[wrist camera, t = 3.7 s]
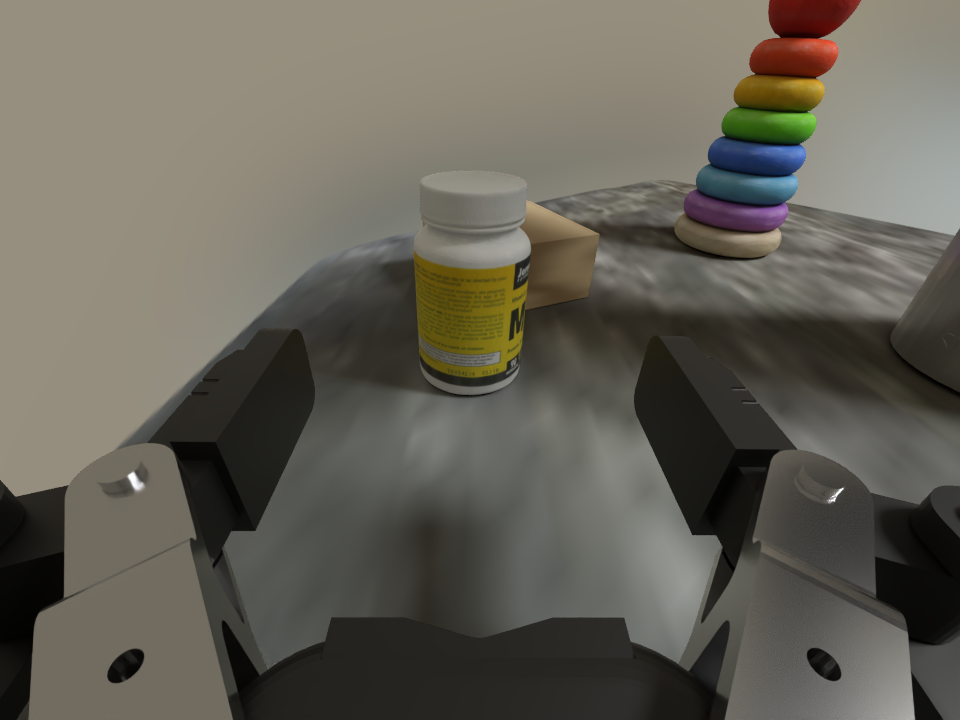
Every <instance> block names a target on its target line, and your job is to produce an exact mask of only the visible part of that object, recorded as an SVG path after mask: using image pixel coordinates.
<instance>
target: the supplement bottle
mask: <svg viewBox="0 0 960 720" xmlns="http://www.w3.org/2000/svg"><path fill="white" fill-rule="evenodd" d="M526 199H527V183H526V181H525V180H524V179H522V178H519V177H517V176H514V175H509V174H505V173H498V172H490V171H489V172H488V171H449V172H440V173H434V174H431V175H428V176H425V177H423V178H422V179H421V181H420V212H421V219H422V221H423V222H424V223H426V225H425V226H424V227H422V228H421V229H420V230H419V231H418V233H417V234H416V236H415V239H414V244H413V246H414V265H415V281H416V300H417V318H418V337H419V357H420V367H421V371H422V373H423V375H424V376H425V378H426V379H427V380H428V381H429V382H430V383H431V384H432V385H434V386H436V387H437V388H439V389H441V390H444V391H447V392H450V393H454V394H461V395H478V394H485V393H490V392H494V391H497V390H499V389H501V388H503V387H505V386H507V385H508V384H509V383H511V382H512V381H513V379H514V378H515V377H516V375H517V373H518V371H519V367H520V360H521V349H522V338H523V327H524V317H525V307H526V295H527V286H528V275H529V265H530V257H531V244H530V241H529V238H528V236H527V235H526V233H525V232H524V231H523V230H522V229H521V228H519V226H521V225H522V224H523V223H524V221H525V215H526V212H527V210H526Z"/></svg>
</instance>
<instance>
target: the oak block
mask: <svg viewBox="0 0 960 720" xmlns="http://www.w3.org/2000/svg"><path fill="white" fill-rule="evenodd" d="M526 210H527V212H526V215H525V221H524V223H523V224H522V225H521V226H519V228H521V229H522V230H523V231H524V232H525V233H526V235H527V236H528V238H529V241H530V244H531V257H530V265H529V275H528V286H527V295H526V307H525V310H528V309H533V308H537V307H542V306H547V305H552V304H557V303H562V302H566V301H571V300H576V299H581V298H586V297H588V295H589V289H590V284H591V279H592V273H593V268H594V262H595V257H596V251H597V246H598V241H599V235H600V234H598V233H596V232H594V231H592V230H590V229H588V228H586V227H583V226H581V225H579V224H577V223H575V222H573V221H571V220H569V219H567V218H564V217H562V216H560V215H558V214H556V213H554V212H552V211H550V210H547V209H545V208H543V207H541V206H539V205H537V204H535V203H532V202H530V201H526ZM425 225H426V223H424V222H423V227H424V226H425Z"/></svg>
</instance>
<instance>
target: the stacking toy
mask: <svg viewBox="0 0 960 720" xmlns="http://www.w3.org/2000/svg"><path fill="white" fill-rule="evenodd" d="M860 1H861V0H770V1H769V11H768V14H769V22H770V25H771V27H772V29H773V31H774V32H775V33H776V34H777V35H779V36H780V37H781V38H773V39H768V40H764V41H763V42H761V43H760V44H758V45H757V46H756V47H755V49H754V50H753V52H752V54H751V57H750V63H749V65H750V68H751V70H752V72H754V73H755V75H751V76H748V77H746V78H744V79H743V80H742V81H741V82H740V83H739V84H738V85H737V87H736V88H735V91H734V101H735V102H736V104H737V105H738V106H739V107H737V108H733V109H731V110H730V111H729V112H728V113H727V114H726V115H725V117H724V118H723V122H722V132H723V133H724V135H725V136H723V137H720V138H718V139H716V140H715V141H714V142H713V143H712V145H711V146H710V148H709V151H708V160H709V162H710V163H711V164H709V165H707V166H705V167H703V168H702V169H701V170H700V171H699V173H698V175H697V178H696V186H697V188H698V189H696V190H693V191H692V192H690V193H689V194H688V195H687V197H686V198H685V201H684V211H685V214H683V215H682V216H680V217H679V218H678V220H677V221H676V224H675V234H676V236H677V237H678V238H679V239H680V240H681V241H682V242H684V243H685V244H687V245H689V246H691V247H693V248H696V249H698V250H701V251H705V252H708V253H712V254H716V255H722V256H728V257H739V258H753V257H761V256H765V255H768V254H770V253H772V252H773V251H774V250H776V249H777V247H778V246H779V244H780V242H781V233H780V231H779V229H778V227H779V226H780V225H782V224H783V222H784V221H785V219H786V217H787V215H788V207H787V205H786V204H785V203H784V202H786V201H787V200H789V199H790V198H791V197H792V196H793V195H794V194H795V192H796V190H797V188H798V180H797V178H796V176H794V175H793V174H792V173H794V172H796V171H797V170H798V169H799V168H800V167H801V166H802V165H803V163H804V161H805V158H806V151H805V149H804V148H803V146H801V145H800V143H802V142H804V141H806V140H807V139H808V138H809V137H810V136H811V135H812V134H813V132H814V130H815V127H816V123H817V122H816V118H815V116H814V115H813V114H811V113H808V112H807V111H810V110H812V109H813V108H815V107H816V106H817V105H818V104H819V103H820V102H821V100H822V98H823V96H824V91H825V89H824V85H823V84H822V83H821V81H819V80H818V79H816V77H818V76H821V75H823V74H824V73H826V72H827V71H828V70H830V69H831V67H832V66H833V65H834V63H835V61H836V59H837V56H838V47H837V45H836V44H835V43H834V42H832V41H829V40H822V39H818V38H821V37H824V36H826V35H828V34H830V33H831V32H833V31H834V30H836V29H837V28H838V27H840V26H841V25H842V24H843V23H844V22H845V21H846V20H847V19H848V18H849V17H850V15H851V14H852V13H853V12H854V11H855V9H856V8H857V6H858V5H859V3H860Z"/></svg>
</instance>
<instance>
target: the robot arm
mask: <svg viewBox="0 0 960 720" xmlns="http://www.w3.org/2000/svg"><path fill="white" fill-rule="evenodd" d="M890 341H891V344H892V346H893V348H894V349H895V350H896V351H897V352H898V353H899V355H900V356H901V357H902V358H903V359H905V360H906V361H907V362H909V363H910V364H911V365H912V366H914V367H915V368H916V369H918V370H919V371H921V372H923V373H924V374H926V375H928V376H929V377H931V378H933V379H934V380H936V381H938V382H940V383H942V384H944V385H946V386H948V387H950V388H952V389H954V390H956V391H958V392H960V229H959V231H958V232H957V233H956V235H955V237H954V238H953V240H952V241H951V243H950V244H949V246H948V247H947V249H946V250H945V252H944V253H943V255H942V256H941V258H940V260H939V261H938V263H937V264H936V266H935V267H934V268H933V270H932V271H931V273H930V274H929V276H928V277H927V279H926V280H925V282H924V283H923V285H922V286H921V288H920V290H919V291H918V293H917V294H916V296H915V297H914V299H913V300H912V302H911V303H910V305H909V306H908V308H907V310H906V311H905V313H904V314H903V316H902V317H901V319H900V320H899V322H898V323H897V325H896V326H895V328H894V329H893V331H892V333H891V336H890ZM314 399H315V387H314V381H313V377H312V373H311V369H310V365H309V360H308V356H307V352H306V348H305V344H304V340H303V336H302V334H301V332H300V331H299V330H298V329H265V328H264V329H261V330H259V331H258V333H257V334H256V335H255V336H254V338H253V339H252V340H251V341H250V343H249V344H248V345H247V346H246V347H245V349H244V350H237V351H235V352H233V353H232V354H230V355H229V356H227V357H225V358H224V359H222V360H221V361H219V362H217V363H216V364H215V365H214V366H213V368H212V369H211V370H210V371H209V372H208V373H207V375H206V376H205V377H204V378H203V382H200V383H199V384H198V385H197V386H196V387H195V388H194V390H193V391H192V395H188V397H187V398H186V399H185V400H184V401H183V402H182V403H181V405H180V406H179V407H178V408H177V409H176V410H175V412H174V413H173V414H172V415H171V416H170V417H169V418H168V420H167V421H166V422H165V423H164V424H163V425H162V427H161V428H160V429H159V430H158V431H157V432H156V434H155V435H154V436H153V437H152V438H151V439H150V440H149V442H148V443H144V444H137V445H132V446H128V447H125V448H121V449H118V450H116V451H113V452H111V453H109V454H107V455H105V456H103V457H101V458H99V459H98V460H96V461H94V462H93V463H91V464H90V465H88V466H87V467H86V468H84V469H83V470H82V471H81V472H80V473H79V474H78V475H77V476H76V477H75V478H74V479H73V480H72V482H71V483H70V485H68V486H64V487H59V488H54V489H49V490H45V491H40V492H36V493H31V494H27V495H22V496H18V497H15V496H14V495H13V494H12V493H11V491H9V489H8V488H7V487H6V486H5V485H4V484H3V483H2V482H1V480H0V720H16V719H17V718H18V716H19V715H20V713H21V712H22V710H23V709H24V707H25V705H26V704H27V702H28V701H29V699H30V704H29V720H960V487H959V486H941V487H937V488H935V489H934V490H933V491H932V492H931V493H930V494H929V495H928V496H927V497H926V498H925V499H924V500H923V502H922V503H921V504H920V505H918V504H914V503H910V502H906V501H902V500H897V499H893V498H889V497H885V496H881V495H877V494H873V493H870V492H869V490H868V489H867V487H866V486H865V485H864V484H863V482H862V481H861V480H860V479H859V478H858V477H856V476H855V475H854V474H853V473H852V472H850V471H849V470H848V469H846V468H845V467H843V466H842V465H840V464H838V463H836V462H834V461H833V460H831V459H828V458H826V457H824V456H821V455H818V454H815V453H812V452H808V451H802V450H797V448H796V447H795V446H794V445H793V444H792V442H791V441H790V440H789V439H788V438H787V436H786V435H785V434H784V433H783V432H782V431H781V429H780V428H779V427H778V426H777V425H776V423H775V422H774V421H773V420H772V419H771V417H770V416H769V415H768V414H767V413H766V412H765V410H764V409H763V408H762V407H761V406H760V404H756V400H755V398H754V397H753V396H752V395H751V394H750V393H749V391H745V387H744V385H743V384H742V383H741V382H740V381H739V379H738V378H737V377H736V376H735V375H734V374H733V372H732V371H730V370H729V369H727V368H726V367H724V366H723V365H721V364H720V363H718V362H717V361H715V360H714V359H712V358H707V357H706V356H705V355H704V353H703V352H702V351H701V350H700V348H699V347H698V346H697V345H696V343H695V342H694V341H693V340H692V339H691V338H690V337H688V336H654V337H652V338H651V340H650V342H649V344H648V347H647V350H646V354H645V357H644V361H643V364H642V367H641V371H640V374H639V378H638V381H637V385H636V388H635V394H634V405H635V411H636V414H637V417H638V419H639V421H640V423H641V425H642V428H643V430H644V432H645V434H646V436H647V438H648V441H649V443H650V445H651V447H652V449H653V451H654V453H655V456H656V458H657V460H658V462H659V464H660V466H661V468H662V471H663V473H664V475H665V477H666V479H667V481H668V484H669V486H670V488H671V490H672V492H673V494H674V496H675V499H676V501H677V503H678V505H679V507H680V509H681V511H682V514H683V516H684V518H685V520H686V522H687V524H688V526H689V529H690V531H691V533H692V535H717V537H718V539H719V541H720V543H721V547H720V548H719V550H718V552H717V554H716V556H715V560H714V563H713V566H712V569H711V573H710V576H709V579H708V582H707V586H706V589H705V592H704V595H703V599H702V602H701V605H700V609H699V612H698V615H697V618H696V622H695V625H694V628H693V631H692V634H691V637H690V639H689V642H688V644H687V646H686V649H685V651H684V653H683V655H682V657H681V659H680V662H679V664H677V663H676V662H674V661H672V660H670V659H669V658H667V657H665V656H663V655H661V654H660V653H658V652H656V651H654V650H651V649H649V648H647V647H644V646H642V645H639V644H637V643H633V642H630V638H629V634H628V631H627V627H626V623H625V620H624V618H550V619H547V620H543V621H540V622H537V623H533V624H530V625H527V626H523V627H520V628H516V629H513V630H510V631H506V632H503V633H499V634H496V635H493V636H489V637H485V638H473V637H469V636H465V635H462V634H459V633H455V632H452V631H448V630H445V629H442V628H438V627H435V626H431V625H428V624H424V623H421V622H418V621H414V620H411V619H407V618H331V621H330V625H329V629H328V633H327V637H326V641H325V642H322V643H318V644H315V645H313V646H310V647H308V648H306V649H303V650H301V651H299V652H296V653H295V654H293V655H291V656H289V657H287V658H286V659H284V660H282V661H280V662H278V663H277V664H275V665H274V666H273V667H271V668H270V669H268V670H267V667H266V665H265V662H264V660H263V658H262V655H261V653H260V651H259V649H258V646H257V644H256V641H255V639H254V636H253V633H252V631H251V628H250V624H249V621H248V618H247V615H246V612H245V609H244V606H243V602H242V599H241V596H240V593H239V590H238V587H237V584H236V580H235V577H234V574H233V571H232V568H231V565H230V562H229V558H228V555H227V553H226V551H225V549H224V547H223V546H224V544H225V542H226V540H227V538H228V536H229V534H230V532H231V531H255V530H256V528H257V526H258V524H259V522H260V520H261V518H262V516H263V513H264V511H265V509H266V507H267V505H268V503H269V501H270V498H271V496H272V494H273V492H274V490H275V488H276V486H277V484H278V481H279V479H280V477H281V475H282V473H283V471H284V469H285V467H286V464H287V462H288V460H289V458H290V456H291V454H292V452H293V450H294V447H295V445H296V443H297V441H298V439H299V437H300V435H301V433H302V430H303V428H304V426H305V424H306V422H307V420H308V418H309V416H310V413H311V411H312V409H313V405H314Z"/></svg>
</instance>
